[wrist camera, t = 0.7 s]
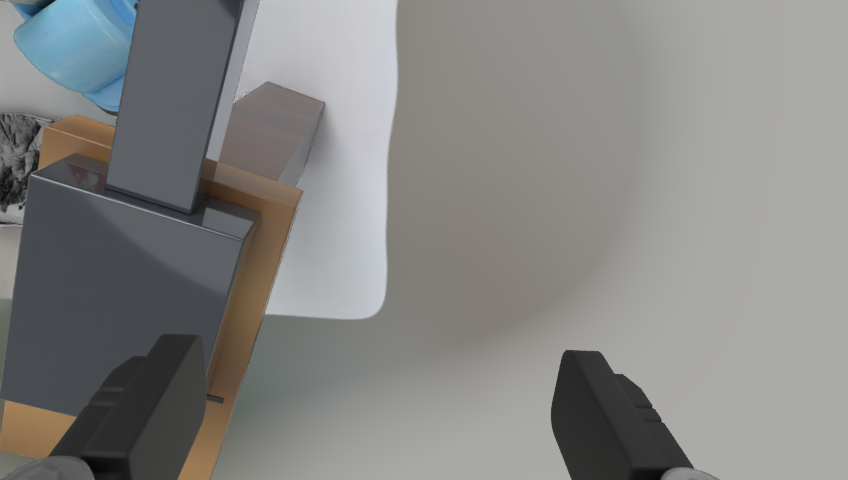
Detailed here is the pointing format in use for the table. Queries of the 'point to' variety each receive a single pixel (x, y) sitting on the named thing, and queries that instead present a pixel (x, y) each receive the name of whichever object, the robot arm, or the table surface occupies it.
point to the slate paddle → (136, 218)
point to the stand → (278, 203)
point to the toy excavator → (79, 44)
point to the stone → (18, 162)
